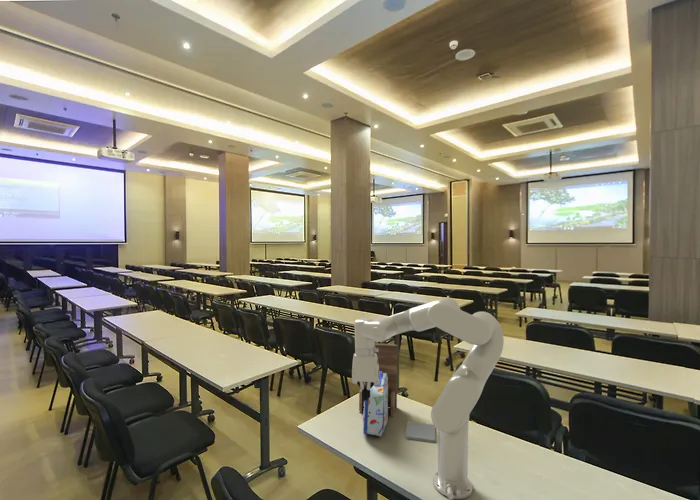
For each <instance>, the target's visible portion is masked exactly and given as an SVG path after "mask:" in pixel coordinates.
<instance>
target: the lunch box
mask: <svg viewBox="0 0 700 500" xmlns="http://www.w3.org/2000/svg"><path fill="white" fill-rule="evenodd" d="M379 381H380V383H379V385H374V386H373V387H372V388H371V389H370V398H369V399H368V401H366V400H364V408H363V411H362V413H363V414H362V416H363V417H362V420H363V421H362V431H363V434H364V435H366V436H367V434H368V435H371V436H377V437H382V436H383V434H384V433H385V429H386V427H387V424H388V419H389V408H388V376H387V373H382V371H379Z"/></svg>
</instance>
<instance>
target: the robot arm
mask: <svg viewBox="0 0 700 500" xmlns="http://www.w3.org/2000/svg"><path fill="white" fill-rule="evenodd" d="M353 323H354V325H353V326H354V353H353V357H352V367H351V380H352V381H351V383H352V384H355V385H357V386H358V387H359V388H360V389H361V390H362V397H363V400H366V401H368V399H369V398H370V389H371V388H372V387H373V386H374V385H379V383H380V381H379V364H378V357H377V354H376V353H375V352H378V349H376V348H375V345H374V343H381V342H382V343H383V342H385V341H387V340H388V339H390V338H392V337H393V336H396V335H399V334H402V333H407V332H410V331H416V332H423V331H426V330H429V329H433V328H438V329H439V330H441V331H443V332H444V333H447V334H449V335H451V336H453V337H455V338H457V339H459V340H461V341H463V342H465V343H467V344H470V345H471V346H472V347H470V349H469V351H468V353H467V355H466V357H465V359H464V360H463V362H462V364H461V365H460V366H458V368H457V369H456V370H455V371H454V372H453V374H452V376H451V377H450V378H449V380H448V381H447V383H446V384H445V386H444V388H443V389H442V391H441V393H440V395H439V396H438V398H437V399H436V401H435V403H434V404H433V406H432V408H431V412H430V413H431V414H430V418H431V421H432V425H434V426H435V429H437V432H438V433H437V434H438V435H437V446H438V447H437V472H436V473H435V474H434V475H433V478H432V482H433V487H434V488H435V489H436V491H438V493H440V494H441V495H443V496H445V497H447V498H448V500H462V499H463V500H464V499H467V498H468V497H470V496H471V495H472V494H473V483H472V481H471V480H470V479H469V477H468V474H469V473H468V471H469V468H468V465H469V463H468V462H469V461H468V460H469V458H468V457H469V455H468V454H469V453H468V452H469V425H470V424H469V422H470V414H471V413H472V411H473V409H474V407H475V406H476V405H477V403H478V400H479V399H480V397H481V395H482V392H483V390H484V387H485V385H486V383H487V381H488V379H489V377H490V375H491V374H492V372H493V370H494V368H495V367H496V366H497V363H498V362H499V360H500V358H501V355H502V353H503V349H504V344H505V343H504V340H505V339H504V332H503V329H502V327H501V324H500V323H499V321H498V320H497V318H495V316H494V315H492V314H491V313H489V312H486V311H477V312H474V313H473V314H471V313H469V312H466V311H463V310H462V309H461V308H460V305H459V303H458V302H457V301H456V300H455V299H454V298H452V297H442V298H438V299H436V300H433V301H429V302H427V303H426V302H425V303H423V304H419V305H417V306H414V307H411V308H409V309H407V310H404V311H402V312H399V313H398V312H397V313H395V314H391V315H390V316H387V317H386V316H385V317H384V318H381V319H379V320H378V319H377V320H375V321H374V320H373V319H372V318H368V317H361V318H357V319H355V321H354V322H353ZM365 382H368V383H367V388H366V386H365Z"/></svg>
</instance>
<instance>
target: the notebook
mask: <svg viewBox="0 0 700 500" xmlns="http://www.w3.org/2000/svg"><path fill="white" fill-rule="evenodd" d="M405 439H406V440H413V441H418V442H419V441H420V442H428V443H436V441H437V440H436V427H435V426H434V424H433V423H432V424H430V423H421V422H413V421H407V422H406V431H405Z"/></svg>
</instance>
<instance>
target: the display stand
mask: <svg viewBox="0 0 700 500" xmlns="http://www.w3.org/2000/svg"><path fill="white" fill-rule="evenodd" d="M374 345H375V348H376V349H378V352H375V353H376V354H377V357H378V364H379V371H382V373H387V376H388V407H391V408H390V417H394V416H393V415H395V411H396V409H395V408H397V409H398V344H391V343H381V342H374ZM367 383H368V382H365V386H366V388H367ZM358 395H359V396H358V397H359V399H358V400H359V402H358V403H359V407H358V412H359V411H360V412H362V413H363V411H364V408H363V407H364V400H363V397H362V390H361V388H360V389H359V393H358ZM362 410H363V411H362ZM394 410H395V411H394ZM360 412H359V413H360Z"/></svg>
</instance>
